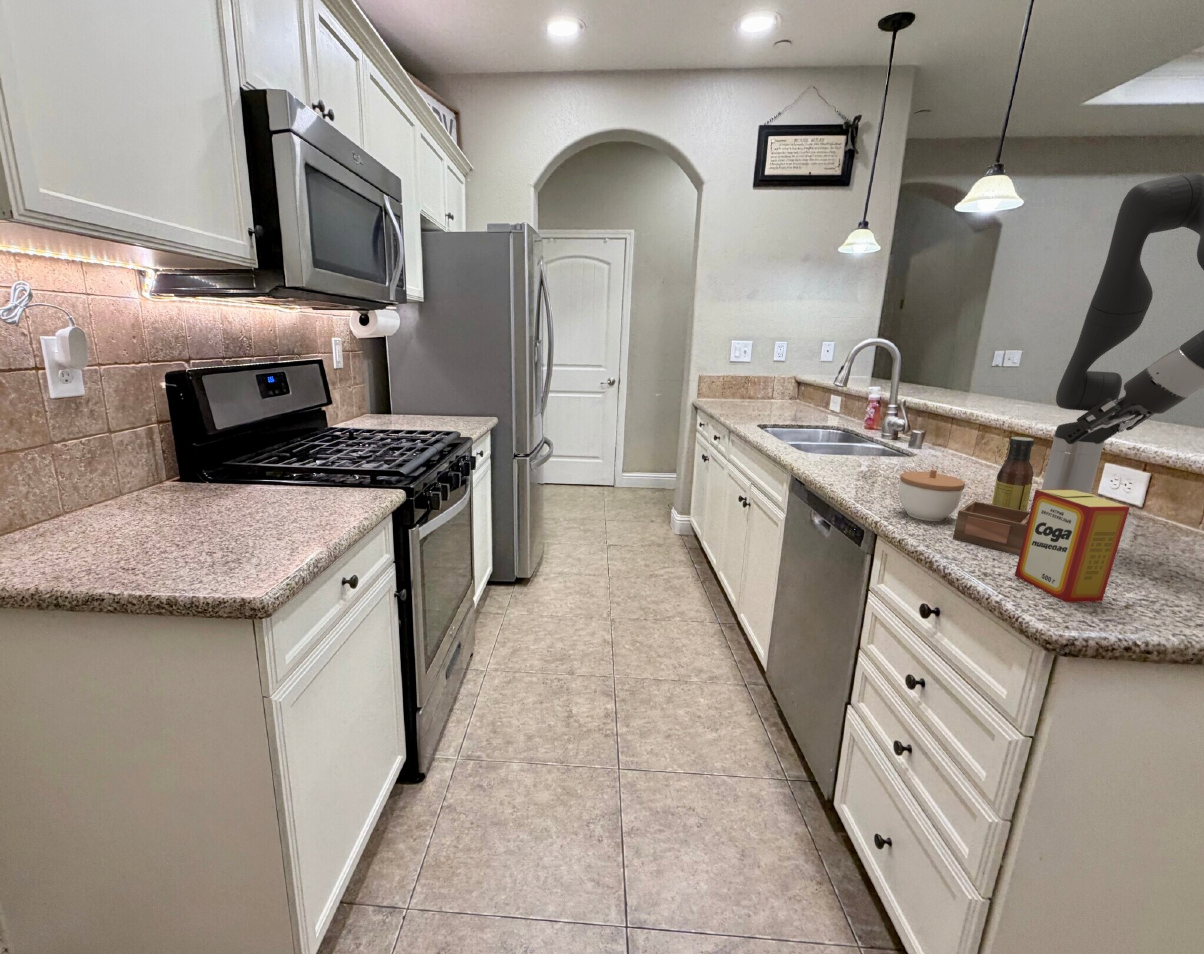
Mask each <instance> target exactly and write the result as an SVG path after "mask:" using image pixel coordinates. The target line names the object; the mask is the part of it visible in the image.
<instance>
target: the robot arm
mask: <svg viewBox="0 0 1204 954" xmlns="http://www.w3.org/2000/svg"><path fill="white" fill-rule="evenodd" d="M1180 228H1187V229H1189V230H1191V231H1193V232H1195V233H1197V235H1199V241H1198V244H1197V250H1196V258H1197V263H1198V265H1199V266H1200V268H1201V269H1202V270H1203V271H1204V175H1203V174H1200V173H1194V172H1193V173H1184V174H1178V175H1174V176H1169V177H1164V178H1159V179H1153V180H1150V181H1145V182H1141V183H1139V184H1137V185H1135V186H1133V187H1132V188H1131V189H1129V190H1128V192H1127V194H1126V195H1125V197H1124V198H1123V200H1122V201H1121V204H1120V207H1119V211H1118V213H1117V217H1116V221H1115V226H1114V229H1113V234H1112V237H1111V241H1110V245H1109V249H1108V253H1107V257H1106V261H1105V264H1104V267H1103V270H1102V272H1101V275H1100V278H1099V282H1098V284H1097V287H1096V290H1095V292H1094V294H1093V296H1092V299H1091V301H1090V304H1089V307H1088V309H1087V313H1086V316H1085V319H1084V322H1083V325H1082V329H1081V332H1080V334H1079V338H1078V341H1077V342H1076V347H1075V349H1074V351H1073V353H1072V356H1071V358H1070V360H1069V362H1068V364H1067V366H1066V369H1065V371H1064V373H1063V376H1062V378H1061V379H1060V382H1059V384H1058V387H1057V391H1056V394H1055V401H1056V405H1057V406H1058V408H1061V409H1065V410H1070V411H1085V413H1083V414H1082V415H1081V416H1079V417H1077V419H1076V421H1072V422H1067V423H1062V424H1059V425H1058V426H1057V427H1056V430H1055V432H1054V437H1053V441H1052V445H1051V450H1050V453H1049V458H1048V462H1047V466H1046V470H1045V473H1044V474H1045V475H1044V478H1043V480H1042V481H1043V482H1042V485H1041V489H1040V490H1045V489H1071V490H1076V491H1080V492H1084V493H1089V494H1092V490H1093V485H1094V481H1095V478H1096V474H1097V471H1098V467H1099V463H1100V460H1101V456H1102V451H1103V449H1104V444H1105V441H1107V440H1108V439H1110V438H1111V437H1114V436H1115V435H1116V434H1118V433H1119V434H1120V433H1124V432H1125V431H1126V432H1127V431H1131V430H1133V429H1134V428H1135V427H1137V426H1139V425H1140V424H1141V423H1143V422H1145V421H1146V420H1148V419H1150V417H1152V416H1154V415H1155V414H1157V415H1158V414H1164V413H1166V412H1168V411H1169V410H1170V409H1172V408H1174V407H1175V406H1177V405H1178V404H1180V403H1182V402H1184V401H1185V400H1187V399H1188V398H1190V397H1191V396H1192V395H1195V394H1196V393H1197V392H1199V391H1200V390H1202V389H1203V388H1204V329H1203V330H1201V331H1200V332H1198V333H1197V334H1196V335H1194V336H1192V337H1191V338H1190V339H1188V340H1186V342H1184V343H1182V344H1181V345H1180V346H1178V347H1177V348H1175V349H1174V350H1173V349H1172V351H1169V352H1168V353H1166V354H1165V355H1163V356H1161V357H1160V358H1159V359H1157V360H1156V361H1154V362H1152V363H1151V364H1150V365H1148V367H1146V368H1144V369H1142V371H1140V372H1138V373H1137V374H1136V375H1135V376H1133V377H1132V378H1129V380H1128V381H1126V382H1124V384H1123V377H1122V376H1121V374H1120V373H1118V372H1115V371H1114V372H1113V371H1098V370H1097V371H1094V370H1089V368H1090V367H1092V365H1093V364H1094V363H1095V362H1096V361H1097V360H1098V359H1099V358H1101V356H1103V355H1105V354H1106V353H1107V352H1109V351H1110V350H1112V349H1114V348H1115V347H1116V346H1118V345H1119V344H1121V343H1122V342H1124V341H1125V340H1127V339H1128V338H1130V337H1131V336H1132V335H1133V334H1134V333H1135V332H1136V331H1137V330H1138V329H1139V328H1140V327H1141V325H1142V323H1143V321H1144V318H1145V317H1146V314H1147V312H1148V310H1149V308H1150V305H1151V304H1152V300H1153V294H1154V293H1153V288H1152V285H1151V281H1150V280H1149V278H1148V276H1147V274H1146V272H1145V270H1144V268H1143V266H1142V262H1141V258H1142V257H1141V256H1142V252H1143V248H1144V245H1145V242H1146V240H1147V239H1148V237H1149V235H1150V234H1155V233H1159V232H1161V233H1162V232H1165V231H1171V230H1175V229H1180ZM1122 385H1123V390H1124V391H1125V394H1124V396H1122V397H1120V394H1121V391H1122ZM1119 397H1120V398H1119Z"/></svg>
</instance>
